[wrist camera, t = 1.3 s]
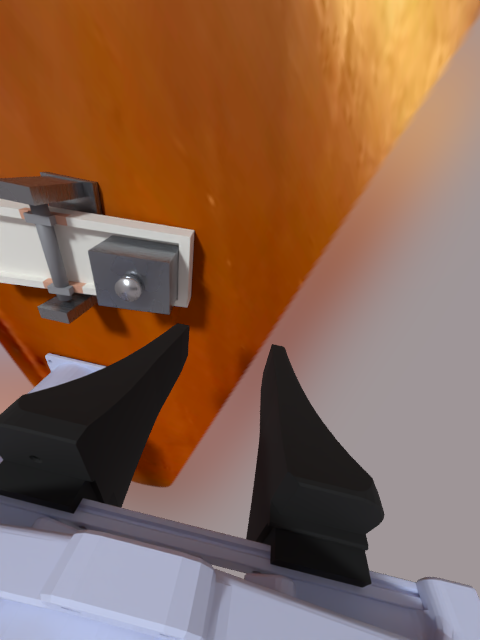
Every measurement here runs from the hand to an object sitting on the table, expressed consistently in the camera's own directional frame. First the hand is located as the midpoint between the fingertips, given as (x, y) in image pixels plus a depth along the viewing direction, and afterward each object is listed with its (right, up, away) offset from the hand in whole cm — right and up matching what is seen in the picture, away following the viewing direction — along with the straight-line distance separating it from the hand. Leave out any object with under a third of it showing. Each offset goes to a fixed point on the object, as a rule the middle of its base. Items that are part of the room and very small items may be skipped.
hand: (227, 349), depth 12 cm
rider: (-7, +6, +7) cm, 11 cm away
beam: (-13, +7, +7) cm, 17 cm away
